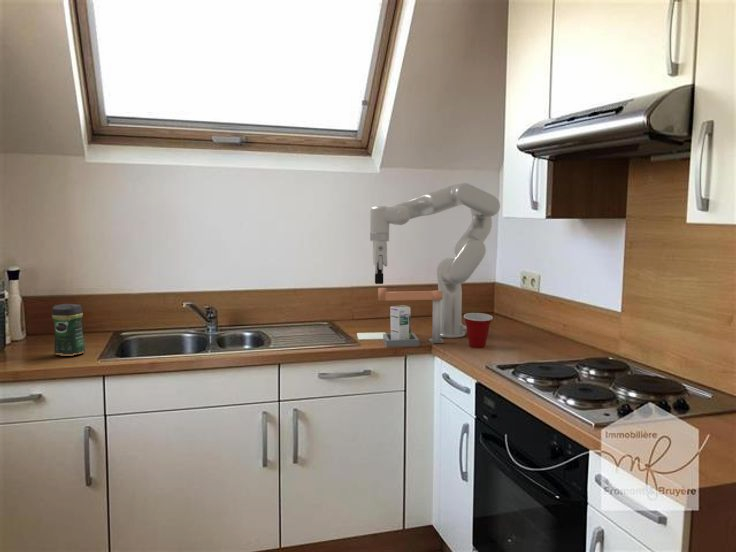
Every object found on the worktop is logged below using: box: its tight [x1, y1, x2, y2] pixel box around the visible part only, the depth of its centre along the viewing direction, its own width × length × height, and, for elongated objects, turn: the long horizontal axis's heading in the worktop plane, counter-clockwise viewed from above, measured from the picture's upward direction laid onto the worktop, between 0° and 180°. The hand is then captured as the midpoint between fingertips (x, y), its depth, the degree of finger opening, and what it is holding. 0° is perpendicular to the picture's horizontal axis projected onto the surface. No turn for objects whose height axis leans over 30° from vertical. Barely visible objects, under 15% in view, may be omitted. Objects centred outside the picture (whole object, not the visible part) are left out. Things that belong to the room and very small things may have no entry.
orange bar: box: [377, 287, 442, 302], centre depth 225 cm, size 25×4×5 cm, turn 94°
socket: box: [382, 300, 445, 348], centre depth 226 cm, size 23×12×16 cm, turn 94°
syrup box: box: [389, 304, 412, 340], centre depth 226 cm, size 6×6×14 cm
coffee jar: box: [51, 303, 86, 354], centre depth 210 cm, size 10×8×19 cm
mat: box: [356, 331, 387, 341], centre depth 239 cm, size 12×12×1 cm
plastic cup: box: [463, 312, 494, 349], centre depth 219 cm, size 11×11×12 cm
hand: (379, 283), depth 233 cm, fingers closed
